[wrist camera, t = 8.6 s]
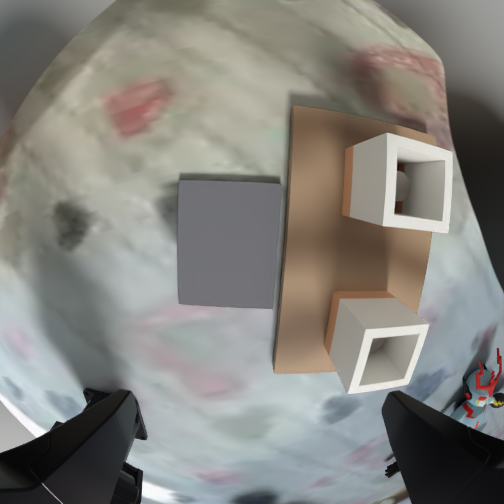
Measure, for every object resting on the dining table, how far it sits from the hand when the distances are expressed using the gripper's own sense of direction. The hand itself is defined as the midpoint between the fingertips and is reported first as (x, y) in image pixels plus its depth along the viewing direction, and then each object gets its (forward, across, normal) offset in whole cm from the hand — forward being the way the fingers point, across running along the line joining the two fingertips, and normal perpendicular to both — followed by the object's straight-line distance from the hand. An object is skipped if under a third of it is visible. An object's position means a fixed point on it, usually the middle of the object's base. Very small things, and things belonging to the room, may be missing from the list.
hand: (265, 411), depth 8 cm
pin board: (+12, -8, -3) cm, 15 cm away
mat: (+12, +2, -3) cm, 13 cm away
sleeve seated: (+11, -8, +2) cm, 14 cm away
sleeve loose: (+11, -8, -8) cm, 16 cm away
